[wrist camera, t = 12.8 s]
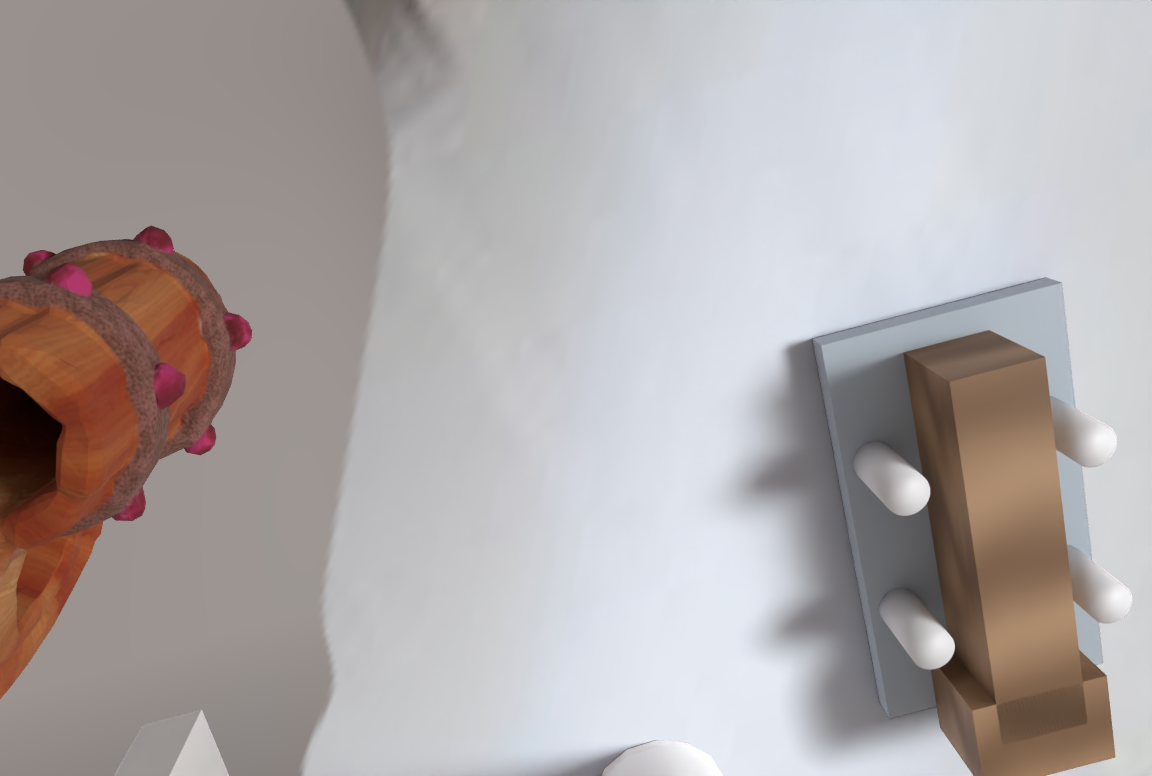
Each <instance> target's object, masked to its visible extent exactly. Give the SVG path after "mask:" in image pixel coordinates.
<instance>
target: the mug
mask: <svg viewBox="0 0 1152 776" xmlns="http://www.w3.org/2000/svg"><path fill="white" fill-rule="evenodd" d="M173 249H174V248H173V244H172V240H171V238H170V237H169V235H168V234H167V233H166V232H165V231H164V230H162V229H159V228H156V227H153V226H149V227H147V228H146V229H144V230H143V231H142V232H140V233H139V234H138V235H137V236H136V237H135V238H134V240H130V239H124V240H109V241H99V242H93V243H89V244H85V245H82V246H78V247H74V248H71V249H67V250H64V251H62V252H60V253H58V254H54V253H52V252H48V251H45V250H40V251H36V252H32V253H29V254H28V256H27V257H26V258H25V259H24V266H23V271H24V273H25V275H26V276H16V277H8V278H5V279H1V280H0V699H1V698H2V696H3V695H4V694H5V693H6V692H7V690H8V689H9V688H10V687H11V686H12V684H13V683H14V682H15V680H16V679H17V678H18V676H19V675H20V674H21V672H22V671H23V670H24V669H25V667H26V666H27V665H28V663H29V662H30V660H31V659H32V657H33V655H34V654H35V652H36V651H37V649H38V648H39V646H40V645H41V643H42V642H43V640H44V639H45V637H46V636H47V634H48V633H49V631H50V630H51V628H52V627H53V625H54V623H55V621H56V620H57V618H58V616H59V614H60V612H61V610H62V608H63V606H64V605H65V603H66V601H67V599H68V597H69V595H70V593H71V592H72V590H73V588H74V586H75V584H76V582H77V580H78V578H79V576H80V574H81V572H82V570H83V568H84V566H85V564H86V562H87V561H88V559H89V556H90V555H91V552H92V549H93V546H94V542H95V540H96V539H97V538H98V537H99V535H100V534H101V529H102V524H103V521H104V520H106V519H108V518H110V517H112V518H114V519H115V520H121V521H133V520H135V519H137V518H138V517H140V516H142V514H143V512H144V510H145V504H146V502H145V496H144V491H143V485H144V483H145V481H146V480H147V478H148V476H149V475H150V473H151V472H152V470H153V468H154V467H155V465H156V464H157V462H158V460H159V459H161V458H164V457H166V456H168V455H170V454H172V453H174V452H177V451H179V450H181V449H183V448H184V449H185V451H186V452H187V453H192V454H197V455H202V454H204V453H206V452H208V451H210V450H211V448H212V447H213V446H214V444H215V440H216V434H215V429H214V427H213V426H212V425H211V423H212V420H213V418H214V417H215V415H216V414H217V412H218V411H219V409H220V408H221V406H222V405H223V402H224V400H225V397H226V395H227V393H228V391H229V388H230V386H231V383H232V378H233V373H234V368H235V362H236V350H238V349H240V348H242V347H244V346H245V345H246V344H248V343H249V341H250V340H251V338H252V329H251V328H250V325H249V323H248V322H247V321H246V320H245V319H244V318H242V317H241V316H239V315H236V314H232V313H228V311H227V309H226V308H225V306H224V304H223V302H222V299H221V296H220V295H219V294H218V293H217V291H216V290H215V288H214V287H213V285H212V283H211V282H210V280H209V279H208V277H207V275H206V274H205V273H204V272H203V271H202V270H201V269H200V268H199V267H198V266H197V265H196V264H195V263H193V262H192V261H191V260H190V259H188V258H186V257H185V256H183V255H181V254H179V253H177V252H175V251H173Z"/></svg>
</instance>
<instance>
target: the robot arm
mask: <svg viewBox="0 0 1152 776" xmlns="http://www.w3.org/2000/svg"><path fill="white" fill-rule="evenodd" d="M114 776H229V774H228V772H227V770H226V767H225V765H224V762H223V760H222V758H221V755H220V753H219V750H218V748H217V746H216V743H215V741H214V738H213V736H212V733H211V731H210V729H209V726H208V724H207V722H206V719H205V717H204V714H203V712H202V710H198V711H194V712H190V713H186V714H183V715H178V716H175V717H171V718H167V719H163V720H159V721H155V722H151V723H148V724H144V725H142V727H141V728H140V730H139V732H138V734H137V735H136V737H135V739H134V741H133V742H132V744H131V746H130V748H129V750H128V751H127V753H126V755H125V757H124V758H123V760H122V762H121V764H120V765H119V767H118V769H117V771H116V773H115V774H114Z"/></svg>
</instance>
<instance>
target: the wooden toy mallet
mask: <svg viewBox="0 0 1152 776" xmlns="http://www.w3.org/2000/svg"><path fill="white" fill-rule="evenodd" d="M903 354H904V361H905V367H906V373H907V380H908V386H909V392H910V399H911V405H912V411H913V418H914V424H915V430H916V437H917V443H918V449H919V456H920V462H921V468H922V475H923V477H924V478H925V479H926V480H927V481H928V483H929V486H930V497H929V500H928V502H927V506H928V513H929V519H930V525H931V532H932V538H933V544H934V551H935V557H936V563H937V570H938V576H939V583H940V589H941V595H942V602H943V608H944V614H945V621H946V627H947V632H948V633H949V635H950V636H951V637H952V638H953V640H954V644H955V650H954V654H953V656H952V658H951V659H950V660H949V662H947V663H946V664H945V665H944V666H942V667H940V668H937V669H931V674H932V680H933V686H934V693H935V699H936V705H937V711H938V717H939V723H940V728H941V729H942V731H943V732H944V734H945V735H946V737H947V738H948V740H949V741H950V742H951V744H952V745H953V747H954V748H955V750H956V751H957V752H958V754H959V755H960V757H961V758H962V760H963V761H964V762H965V764H966V765H967V767H968V768H969V770H970V771H971V773H972V774H973V775H974V776H1046V775H1050V774H1054V773H1057V772H1061V771H1065V770H1069V769H1073V768H1077V767H1080V766H1084V765H1088V764H1092V763H1096V762H1100V761H1104V760H1107V759H1111V758H1115V749H1114V740H1113V730H1112V721H1111V711H1110V702H1109V693H1108V683H1107V676H1106V675H1105V674H1104V673H1103V672H1102V671H1101V670H1100V669H1099V668H1098V667H1097V666H1096V665H1095V664H1094V663H1093V662H1092V661H1091V660H1090V659H1089V658H1088V657H1087V656H1085V655H1084V654H1083V653H1082V652H1081V651H1080V650H1079V646H1078V637H1077V628H1076V619H1075V611H1074V602H1073V593H1072V585H1071V576H1070V567H1069V559H1068V550H1067V541H1066V532H1065V524H1064V515H1063V506H1062V498H1061V489H1060V480H1059V471H1058V463H1057V454H1056V445H1055V437H1054V428H1053V419H1052V411H1051V402H1050V393H1049V384H1048V376H1047V367H1046V358H1045V357H1044V356H1042V355H1040V354H1038V353H1036V352H1034V351H1032V350H1030V349H1028V348H1026V347H1024V346H1021V345H1019V344H1017V343H1015V342H1013V341H1011V340H1009V339H1007V338H1005V337H1003V336H1001V335H999V334H996V333H994V332H992V331H990V330H987V331H983V332H980V333H976V334H972V335H968V336H964V337H960V338H957V339H953V340H949V341H945V342H941V343H937V344H933V345H930V346H926V347H922V348H918V349H914V350H910V351H906V352H903Z"/></svg>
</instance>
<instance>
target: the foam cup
mask: <svg viewBox="0 0 1152 776" xmlns="http://www.w3.org/2000/svg"><path fill="white" fill-rule="evenodd" d="M601 776H723V775H722V773H721V772H720V770H719V769H718V767H717V766H716V764H715V762H714V761H713V759H712V758H711V756H709V755H707V754H706V753H704V752H702V751H700V750H698V749H697V748H695V747H693V746H691V745H689V744H688V743H685V742H673V741H660V740H655V741H652V742H649V743H646V744H642V745H639V746H636V747H633V748H630V749H627V750H626V751H625V752H623V753H622V754H621V755H620V756H619V757H617V758H616V759H615V760H614V761H613V762H612V763H610V764H609V765H608V766H607V767H606V768H605V769H604V771H603V773H602V775H601Z"/></svg>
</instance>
